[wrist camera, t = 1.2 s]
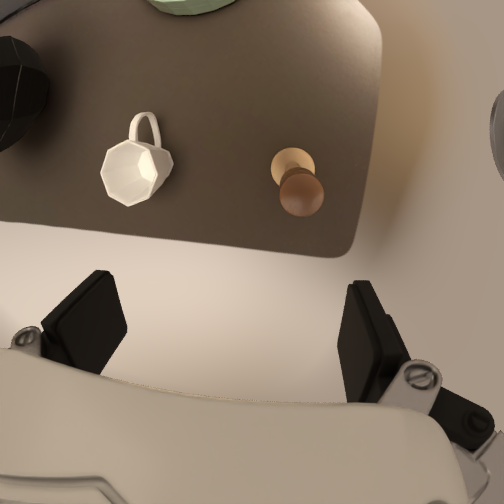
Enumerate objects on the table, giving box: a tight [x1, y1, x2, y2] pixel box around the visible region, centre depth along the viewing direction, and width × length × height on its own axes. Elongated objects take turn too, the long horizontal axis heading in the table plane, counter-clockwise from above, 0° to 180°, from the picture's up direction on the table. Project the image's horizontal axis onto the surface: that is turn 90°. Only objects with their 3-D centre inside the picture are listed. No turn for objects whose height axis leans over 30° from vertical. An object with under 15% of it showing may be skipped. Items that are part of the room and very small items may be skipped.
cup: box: [100, 112, 174, 206], centre depth 29 cm, size 7×10×8 cm
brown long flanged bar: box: [271, 147, 324, 217], centre depth 26 cm, size 5×5×15 cm
